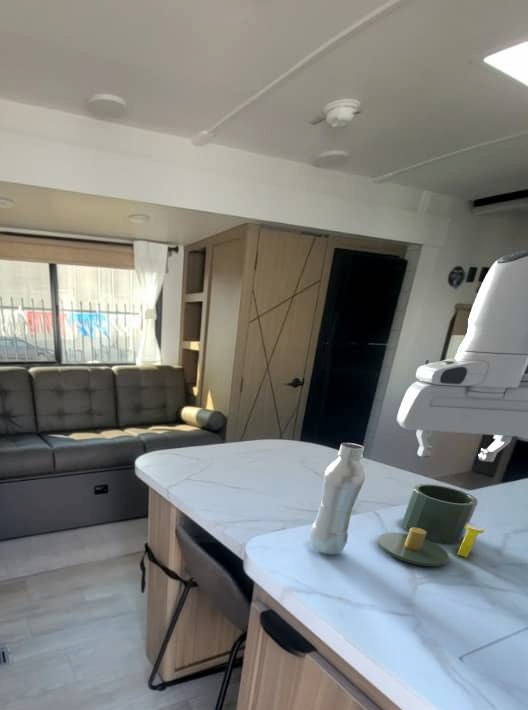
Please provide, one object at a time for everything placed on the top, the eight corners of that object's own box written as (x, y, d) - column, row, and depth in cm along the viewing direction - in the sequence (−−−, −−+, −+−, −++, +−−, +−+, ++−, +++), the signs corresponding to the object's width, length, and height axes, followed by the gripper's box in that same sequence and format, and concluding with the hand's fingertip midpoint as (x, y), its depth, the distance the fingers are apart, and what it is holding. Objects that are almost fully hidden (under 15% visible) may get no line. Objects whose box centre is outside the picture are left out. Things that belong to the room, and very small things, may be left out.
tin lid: (429, 541, 81) (438, 520, 78) (458, 573, 70) (469, 550, 68) (368, 534, 82) (375, 513, 80) (388, 564, 72) (396, 541, 70)
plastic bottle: (308, 555, 74) (335, 449, 65) (304, 538, 80) (328, 439, 71) (346, 561, 72) (379, 454, 64) (339, 543, 78) (368, 442, 70)
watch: (457, 545, 79) (469, 518, 77) (474, 551, 78) (487, 523, 75) (451, 556, 76) (463, 528, 73) (468, 562, 74) (482, 534, 71)
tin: (446, 522, 89) (460, 487, 85) (471, 546, 79) (489, 507, 76) (394, 517, 90) (406, 482, 87) (413, 539, 81) (427, 501, 77)
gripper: (548, 373, 63) (511, 457, 69) (407, 367, 67) (383, 448, 73) (579, 378, 58) (536, 469, 64) (423, 371, 61) (396, 459, 67)
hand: (453, 458), depth 68 cm, fingers open, 8 cm apart
